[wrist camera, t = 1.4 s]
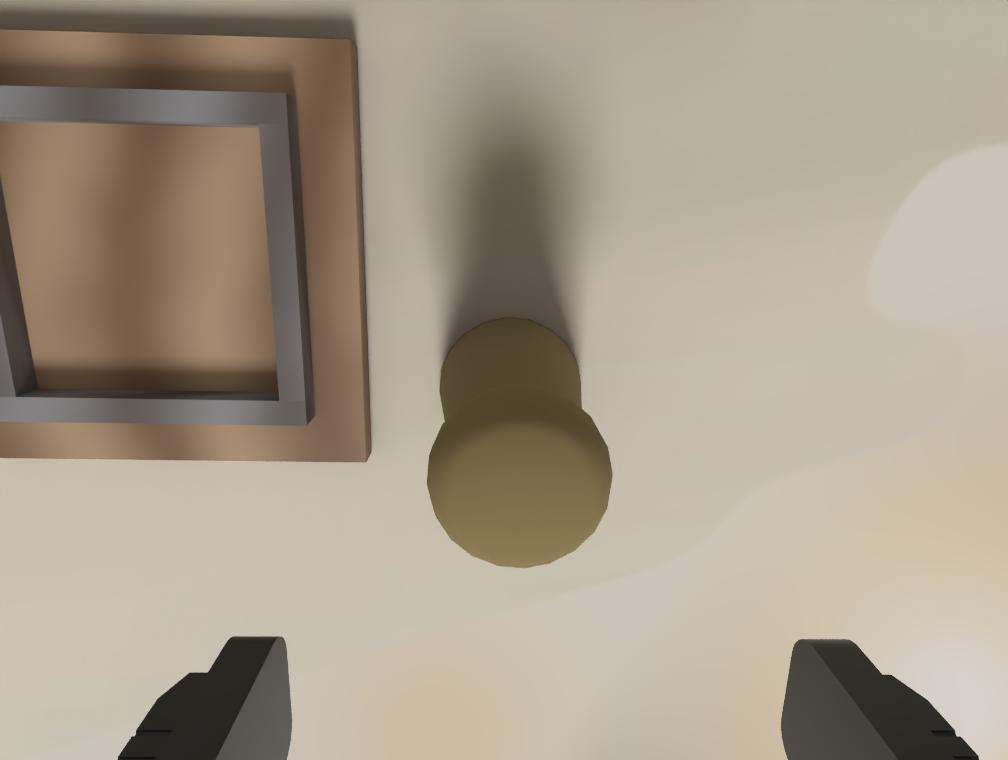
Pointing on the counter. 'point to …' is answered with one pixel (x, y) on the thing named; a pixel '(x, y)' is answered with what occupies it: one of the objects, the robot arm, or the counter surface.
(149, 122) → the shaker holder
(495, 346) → the cork
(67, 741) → the counter surface
